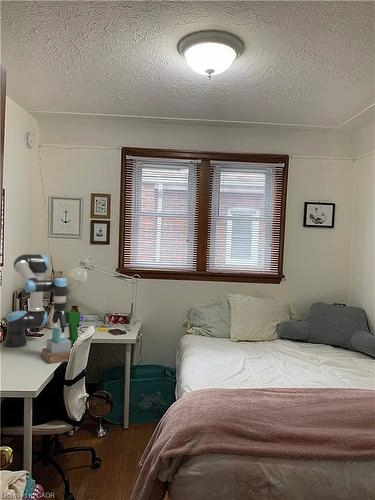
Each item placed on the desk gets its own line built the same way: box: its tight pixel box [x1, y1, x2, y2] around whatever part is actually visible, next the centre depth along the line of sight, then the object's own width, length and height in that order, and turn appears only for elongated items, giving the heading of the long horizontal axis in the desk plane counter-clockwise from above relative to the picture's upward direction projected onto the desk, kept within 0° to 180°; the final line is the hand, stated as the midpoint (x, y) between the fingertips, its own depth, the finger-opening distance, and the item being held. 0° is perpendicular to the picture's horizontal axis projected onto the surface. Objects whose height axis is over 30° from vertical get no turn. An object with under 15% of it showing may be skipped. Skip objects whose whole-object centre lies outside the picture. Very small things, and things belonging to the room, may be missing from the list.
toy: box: [64, 304, 81, 349], centre depth 275 cm, size 10×14×30 cm
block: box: [51, 326, 66, 342], centre depth 249 cm, size 6×6×8 cm
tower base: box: [41, 347, 71, 365], centre depth 249 cm, size 16×16×6 cm
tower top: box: [46, 337, 72, 353], centre depth 250 cm, size 12×12×6 cm
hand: (58, 335), depth 249 cm, fingers open, 13 cm apart
